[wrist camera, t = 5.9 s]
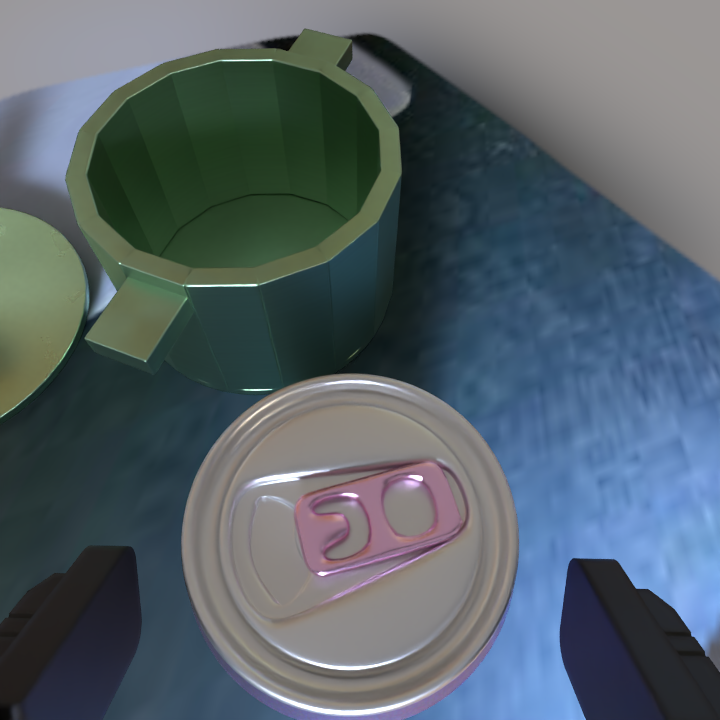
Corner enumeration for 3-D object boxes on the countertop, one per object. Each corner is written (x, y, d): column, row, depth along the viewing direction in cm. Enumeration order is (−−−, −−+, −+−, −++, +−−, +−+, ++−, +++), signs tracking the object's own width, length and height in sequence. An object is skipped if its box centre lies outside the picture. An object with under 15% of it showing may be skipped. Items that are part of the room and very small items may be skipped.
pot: (439, 193, 34) (462, 51, 26) (308, 489, 26) (287, 405, 18) (235, 135, 36) (203, -12, 28) (55, 390, 28) (-55, 279, 20)
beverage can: (455, 680, 22) (596, 659, 9) (295, 733, 21) (197, 792, 8) (404, 522, 25) (457, 330, 12) (261, 564, 24) (147, 407, 11)
